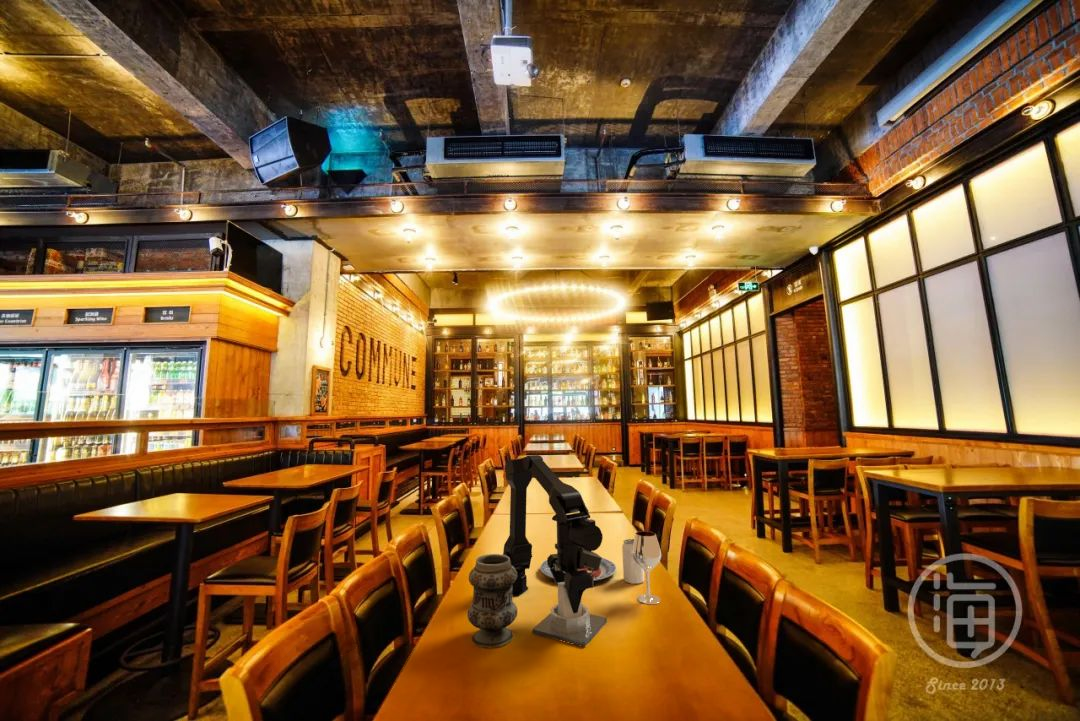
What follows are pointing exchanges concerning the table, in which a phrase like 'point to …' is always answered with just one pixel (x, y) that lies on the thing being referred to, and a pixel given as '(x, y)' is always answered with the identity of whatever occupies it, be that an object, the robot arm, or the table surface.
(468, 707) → the table surface
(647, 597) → the wineglass
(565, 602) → the white block
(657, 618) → the table surface
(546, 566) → the ceramic plate
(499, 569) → the apothecary jar
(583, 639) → the duct collar
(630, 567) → the can
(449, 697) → the table surface
